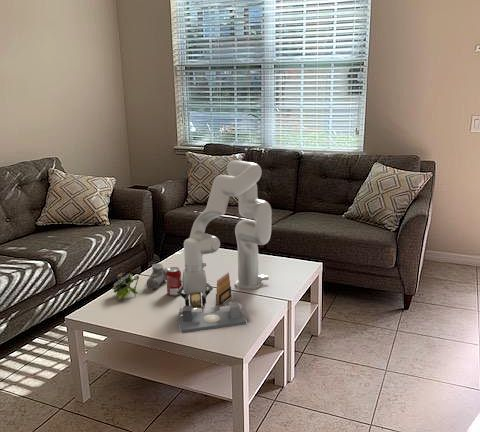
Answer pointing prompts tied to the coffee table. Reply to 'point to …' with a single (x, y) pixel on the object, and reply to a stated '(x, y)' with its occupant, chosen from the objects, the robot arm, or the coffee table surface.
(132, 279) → the passion flower
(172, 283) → the soda can
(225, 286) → the ammunition clip
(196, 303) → the tan rounded cylinder
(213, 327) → the shaft rig
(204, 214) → the robot arm
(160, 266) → the pipe fitting
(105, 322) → the coffee table surface
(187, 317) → the grey block on rod
